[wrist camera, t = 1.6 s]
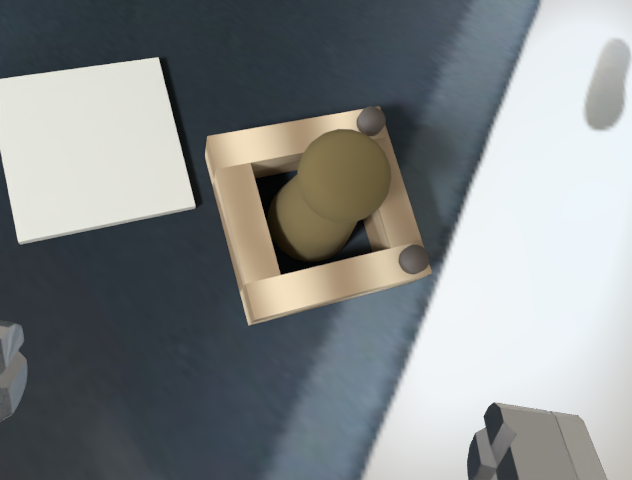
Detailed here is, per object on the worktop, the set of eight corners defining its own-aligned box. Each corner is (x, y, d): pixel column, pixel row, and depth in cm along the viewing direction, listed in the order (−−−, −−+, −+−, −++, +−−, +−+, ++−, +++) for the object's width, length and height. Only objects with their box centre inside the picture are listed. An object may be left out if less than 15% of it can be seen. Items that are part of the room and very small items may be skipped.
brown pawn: (355, 186, 44) (410, 123, 33) (348, 268, 42) (403, 228, 32) (272, 172, 43) (303, 102, 32) (262, 255, 41) (290, 210, 31)
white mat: (20, 244, 38) (18, 242, 37) (-11, 85, 40) (-13, 80, 39) (195, 208, 41) (195, 205, 40) (158, 61, 43) (158, 57, 42)
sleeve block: (248, 325, 40) (256, 318, 36) (204, 156, 42) (207, 131, 38) (412, 282, 43) (437, 271, 39) (364, 126, 45) (383, 100, 41)
